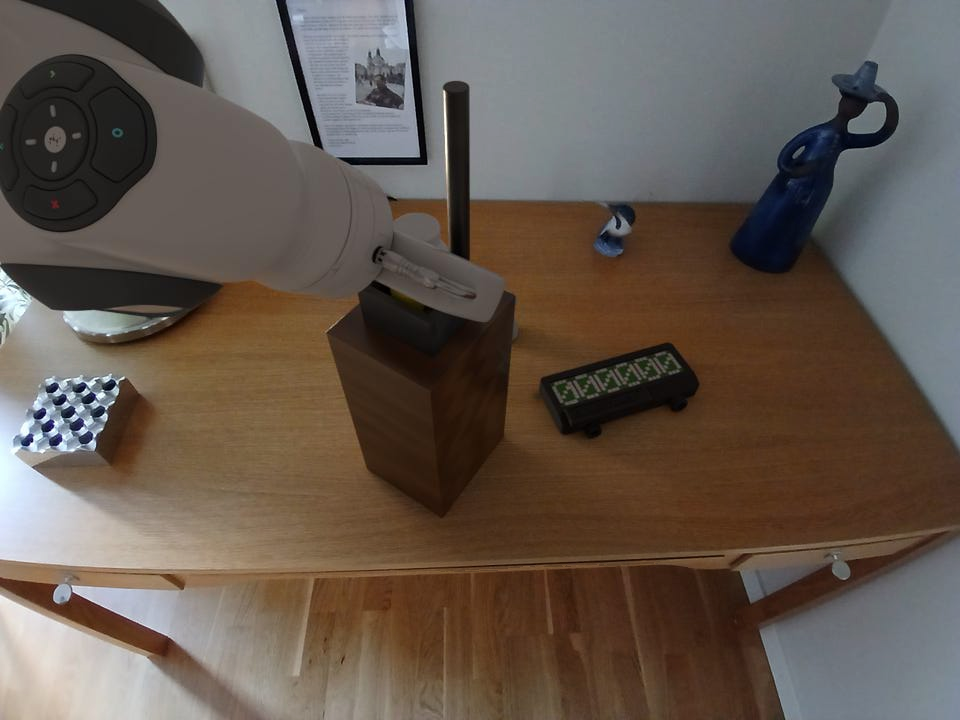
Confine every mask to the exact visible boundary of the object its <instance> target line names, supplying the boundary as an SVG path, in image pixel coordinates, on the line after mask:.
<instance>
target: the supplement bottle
mask: <svg viewBox="0 0 960 720" xmlns="http://www.w3.org/2000/svg"><path fill="white" fill-rule="evenodd" d="M393 227H395V228H397V229H400V230H402V231H404V232H406V233H408V234H411V235H413V236H415V237H417V238H420V239H422V240H424V241H426V242H428V243H431V244H433V245H435V246H437V247H439V248H442V249H444V250H446V251H448V252H449V246H448V245H447V244H446V243H445V241H444V240H443V239H442V234H441V224H440V223H439V221H438V219H437V218H436V217H434V216H433V215H431V214H428V213H424V212H409V213H405V214H403V215H401V216H399V217H397V218H396V219H394V220H393ZM390 291H391V297H393V298H395V299H397V300H399V301H401V302H403V303H405V304H407V305H409V306H411V307H413V308H415V309H417V310H419V311H421V312H423V313H425V314H427V315H428V314H429V313H430V312H431V311H432V310H433V308H431V307H428V306H426V305H424V304H422V303H420V302H418V301H416V300H414V299H412V298H410V297H408V296H406V295H404V294H402V293H400V292H398V291H396V290H394V289H392V288H390Z"/></svg>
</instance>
